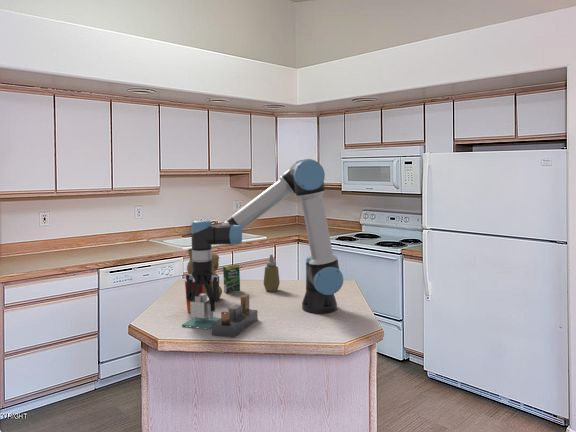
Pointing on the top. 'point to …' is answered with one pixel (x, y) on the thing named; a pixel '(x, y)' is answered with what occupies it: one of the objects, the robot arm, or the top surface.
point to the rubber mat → (201, 322)
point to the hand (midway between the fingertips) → (203, 318)
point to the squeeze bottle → (271, 276)
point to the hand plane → (235, 319)
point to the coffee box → (231, 278)
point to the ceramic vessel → (214, 267)
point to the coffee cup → (192, 291)
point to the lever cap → (199, 306)
